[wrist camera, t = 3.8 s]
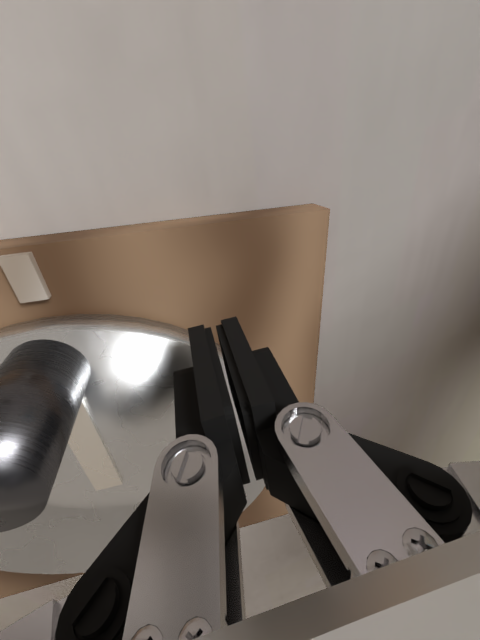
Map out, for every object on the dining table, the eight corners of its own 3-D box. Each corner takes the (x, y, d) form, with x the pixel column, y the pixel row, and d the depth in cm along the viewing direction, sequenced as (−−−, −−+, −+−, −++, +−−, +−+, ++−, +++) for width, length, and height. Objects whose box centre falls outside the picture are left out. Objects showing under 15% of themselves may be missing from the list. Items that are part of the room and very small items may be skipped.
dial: (274, 503, 20) (308, 611, 15) (11, 578, 18) (-47, 737, 13) (270, 281, 12) (345, 370, 7) (-249, 363, 9) (-736, 607, 4)
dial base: (312, 203, 12) (334, 210, 11) (296, 489, 23) (305, 512, 22) (-359, 282, 9) (-470, 308, 7) (0, 573, 20) (-14, 607, 18)
